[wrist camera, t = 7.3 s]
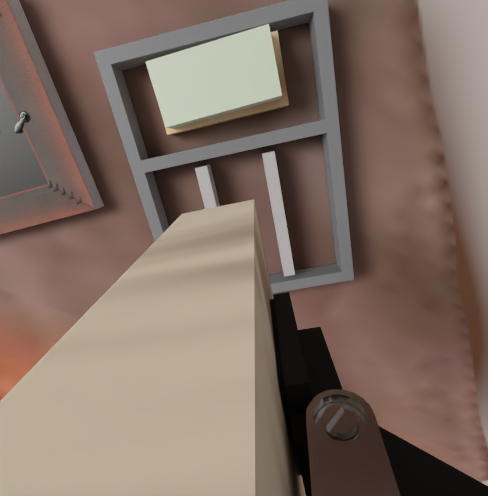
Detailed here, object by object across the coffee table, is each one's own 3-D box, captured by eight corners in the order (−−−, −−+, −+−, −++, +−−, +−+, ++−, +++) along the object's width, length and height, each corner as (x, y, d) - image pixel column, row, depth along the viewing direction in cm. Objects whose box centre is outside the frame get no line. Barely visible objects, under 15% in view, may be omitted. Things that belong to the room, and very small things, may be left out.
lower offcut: (155, 71, 24) (147, 65, 23) (275, 39, 23) (277, 30, 21) (173, 135, 26) (167, 134, 24) (286, 107, 25) (289, 104, 23)
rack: (106, 59, 24) (93, 52, 22) (320, 3, 22) (326, -10, 20) (181, 299, 31) (176, 309, 29) (347, 270, 29) (354, 279, 27)
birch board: (181, 213, 12) (-769, 1194, 1) (253, 199, 12) (259, 1398, 1) (225, 368, 15) (135, 1106, 3) (285, 359, 14) (398, 1135, 3)
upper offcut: (154, 68, 23) (145, 61, 21) (267, 33, 22) (268, 23, 20) (172, 128, 24) (165, 127, 22) (279, 99, 23) (282, 95, 21)
